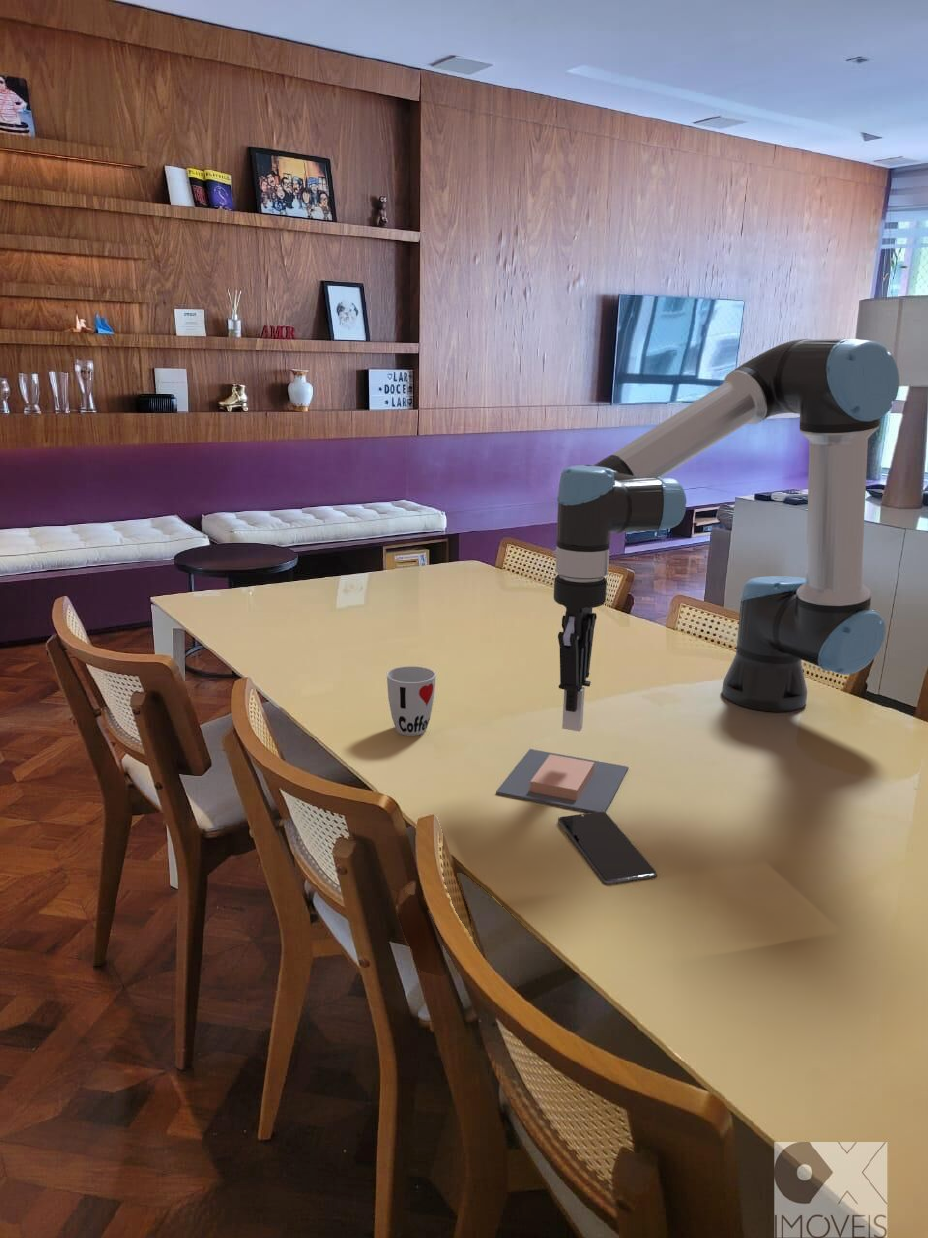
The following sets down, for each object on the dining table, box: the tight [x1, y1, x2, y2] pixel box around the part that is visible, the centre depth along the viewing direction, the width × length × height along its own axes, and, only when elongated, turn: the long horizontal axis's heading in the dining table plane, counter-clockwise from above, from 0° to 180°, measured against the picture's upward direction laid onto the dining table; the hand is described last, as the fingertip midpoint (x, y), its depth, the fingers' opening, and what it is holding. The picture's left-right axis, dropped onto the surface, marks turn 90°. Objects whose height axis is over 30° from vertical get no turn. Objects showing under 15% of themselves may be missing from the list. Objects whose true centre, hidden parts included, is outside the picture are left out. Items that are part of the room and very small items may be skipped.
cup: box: [386, 665, 437, 737], centre depth 152 cm, size 8×8×10 cm
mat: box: [495, 748, 630, 814], centre depth 136 cm, size 16×16×1 cm
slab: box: [530, 754, 594, 801], centre depth 135 cm, size 7×2×10 cm
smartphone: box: [557, 812, 658, 886], centre depth 118 cm, size 7×1×16 cm
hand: (572, 728), depth 137 cm, fingers closed
